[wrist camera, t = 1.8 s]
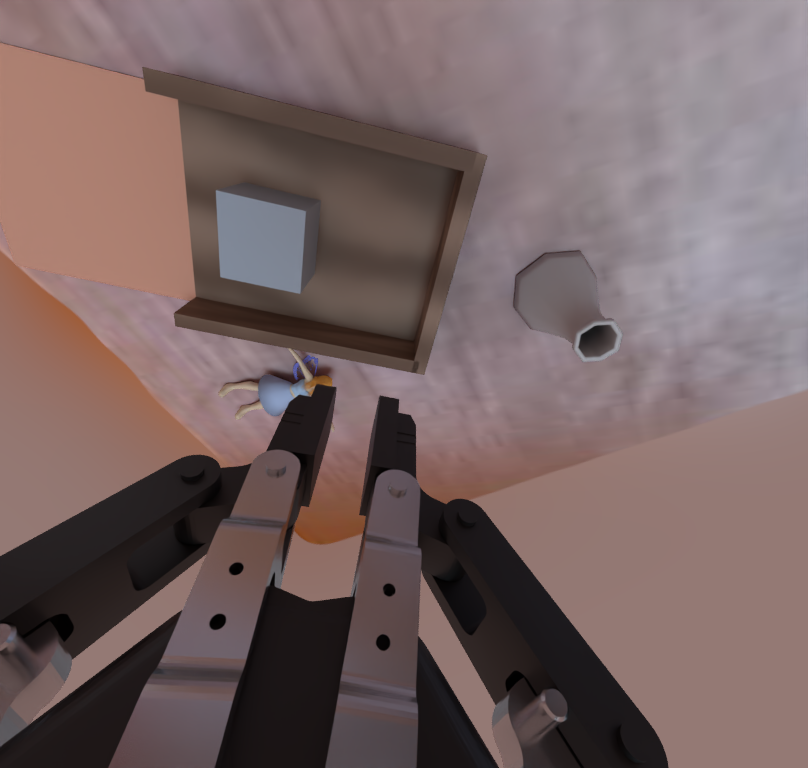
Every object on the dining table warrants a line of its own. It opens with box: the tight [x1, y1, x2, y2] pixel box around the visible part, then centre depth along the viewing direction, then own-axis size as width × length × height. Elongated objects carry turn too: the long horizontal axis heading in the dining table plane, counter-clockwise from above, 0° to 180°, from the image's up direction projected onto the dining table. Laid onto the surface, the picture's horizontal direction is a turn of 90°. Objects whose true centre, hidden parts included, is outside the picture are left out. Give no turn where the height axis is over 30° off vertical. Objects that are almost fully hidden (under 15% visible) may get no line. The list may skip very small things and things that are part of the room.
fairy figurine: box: [219, 348, 334, 432], centre depth 39 cm, size 12×5×12 cm
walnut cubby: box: [142, 67, 487, 375], centre depth 30 cm, size 17×22×4 cm
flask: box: [514, 251, 623, 362], centre depth 30 cm, size 7×7×10 cm
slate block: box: [216, 182, 321, 294], centre depth 29 cm, size 6×6×5 cm
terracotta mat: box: [0, 43, 196, 301], centre depth 30 cm, size 16×16×1 cm
